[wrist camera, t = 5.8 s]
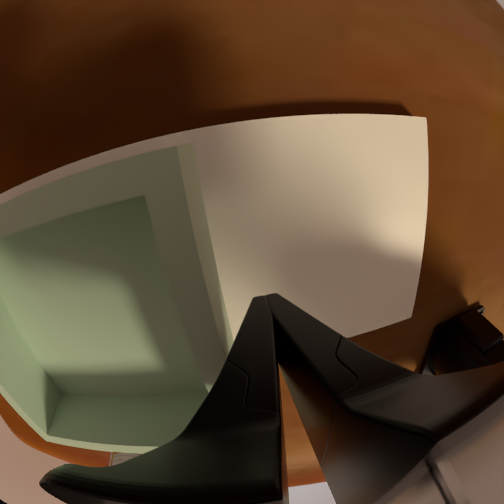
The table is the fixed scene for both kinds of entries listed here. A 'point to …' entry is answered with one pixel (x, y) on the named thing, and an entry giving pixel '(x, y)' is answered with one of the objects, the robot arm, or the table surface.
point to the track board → (307, 211)
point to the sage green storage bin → (111, 303)
